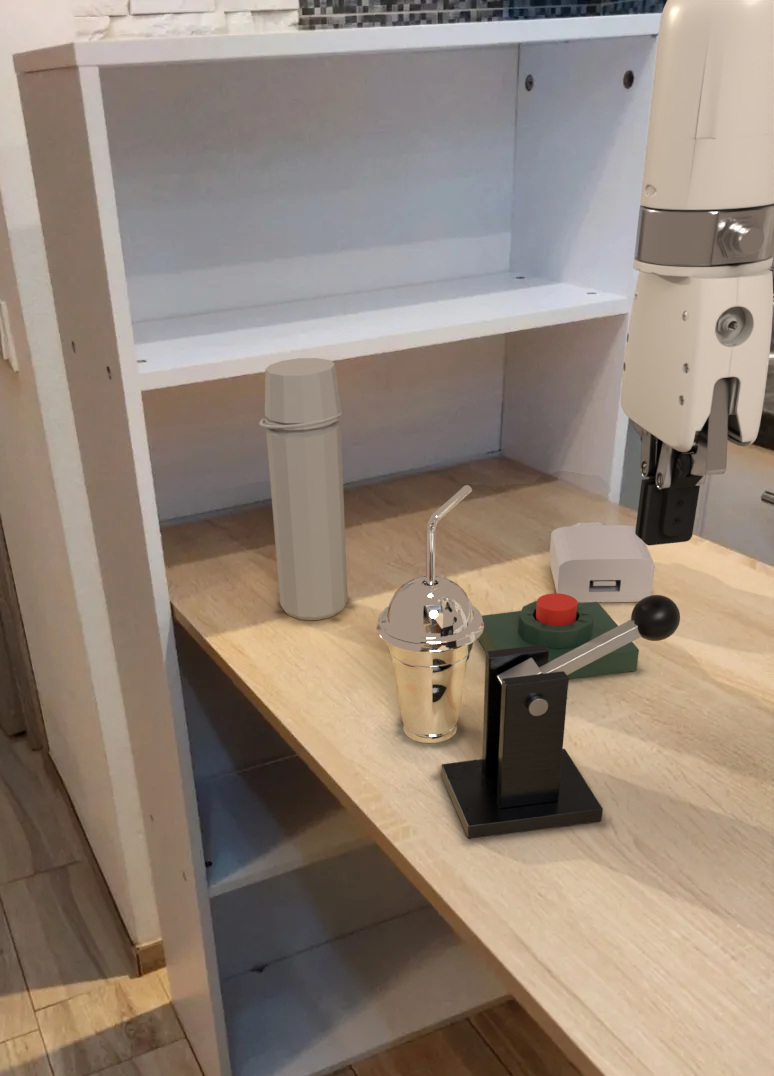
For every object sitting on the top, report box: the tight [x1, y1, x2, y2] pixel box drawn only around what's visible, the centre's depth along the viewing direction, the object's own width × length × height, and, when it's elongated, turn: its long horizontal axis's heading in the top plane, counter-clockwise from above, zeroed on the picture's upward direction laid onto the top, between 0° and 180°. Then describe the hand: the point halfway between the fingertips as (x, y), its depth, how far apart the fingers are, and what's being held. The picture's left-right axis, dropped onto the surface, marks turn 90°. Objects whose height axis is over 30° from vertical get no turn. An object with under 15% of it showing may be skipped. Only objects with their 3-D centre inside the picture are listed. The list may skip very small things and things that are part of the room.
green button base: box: [477, 600, 640, 680], centre depth 96 cm, size 12×10×4 cm
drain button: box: [536, 592, 578, 626], centre depth 94 cm, size 4×4×2 cm
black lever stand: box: [440, 644, 604, 840], centre depth 75 cm, size 10×8×12 cm
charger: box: [548, 521, 656, 603], centre depth 110 cm, size 5×9×15 cm
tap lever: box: [497, 594, 681, 685], centre depth 72 cm, size 13×3×3 cm, turn 96°
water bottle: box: [258, 357, 349, 621], centre depth 103 cm, size 9×8×25 cm
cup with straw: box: [376, 484, 484, 744], centre depth 82 cm, size 8×9×20 cm
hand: (662, 538), depth 68 cm, fingers closed
